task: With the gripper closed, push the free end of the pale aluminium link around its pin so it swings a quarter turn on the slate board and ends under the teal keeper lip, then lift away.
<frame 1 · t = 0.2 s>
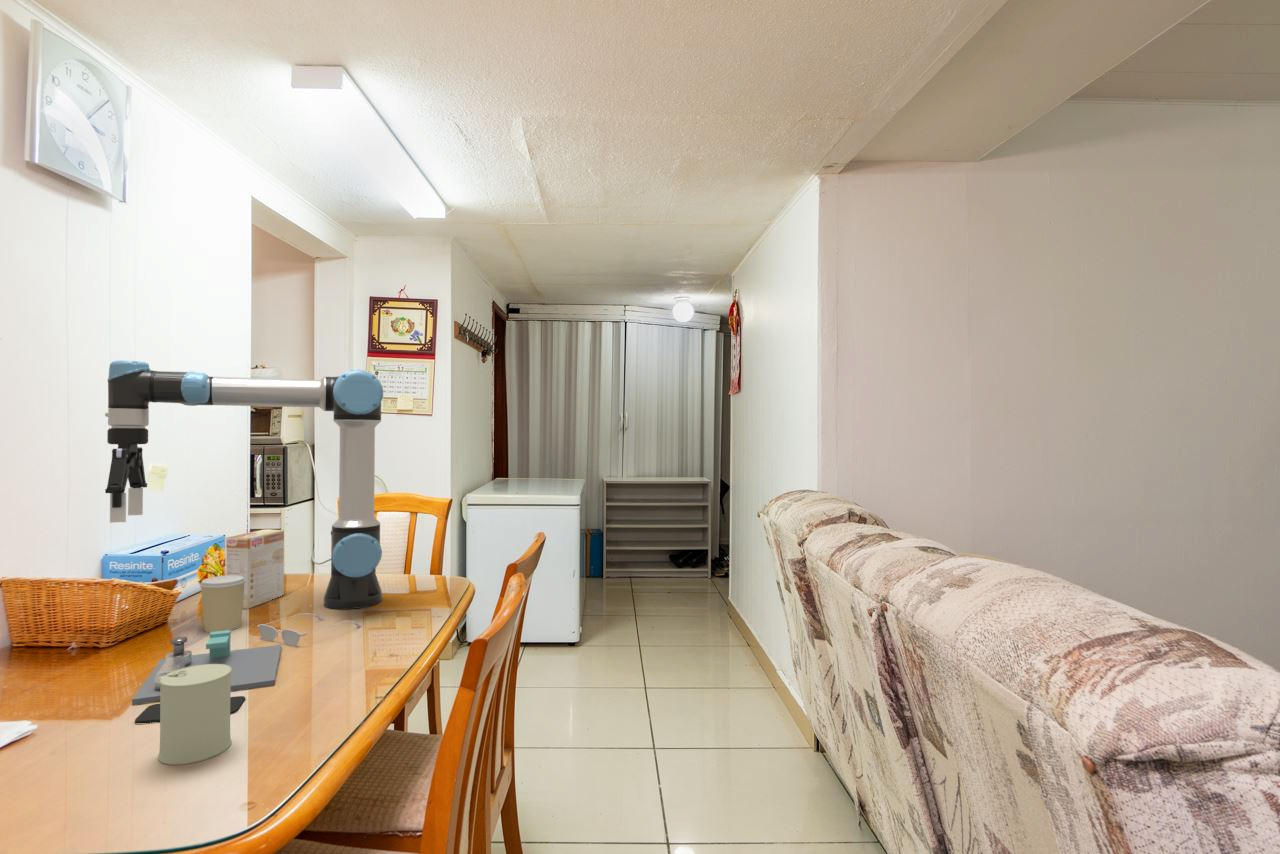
hand: (126, 518, 154), 28 cm above the table, tool pointing down, fingers open, 13 cm apart
eyeglasses: (312, 635, 159), on the table
link: (172, 660, 128), point 4 cm above the table, hinge at 0.0°
can: (195, 751, 100), on the table
coffeecake box: (255, 602, 187), on the table
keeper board: (215, 673, 131), on the table
coffee cup: (222, 628, 162), on the table
phone: (192, 713, 114), on the table
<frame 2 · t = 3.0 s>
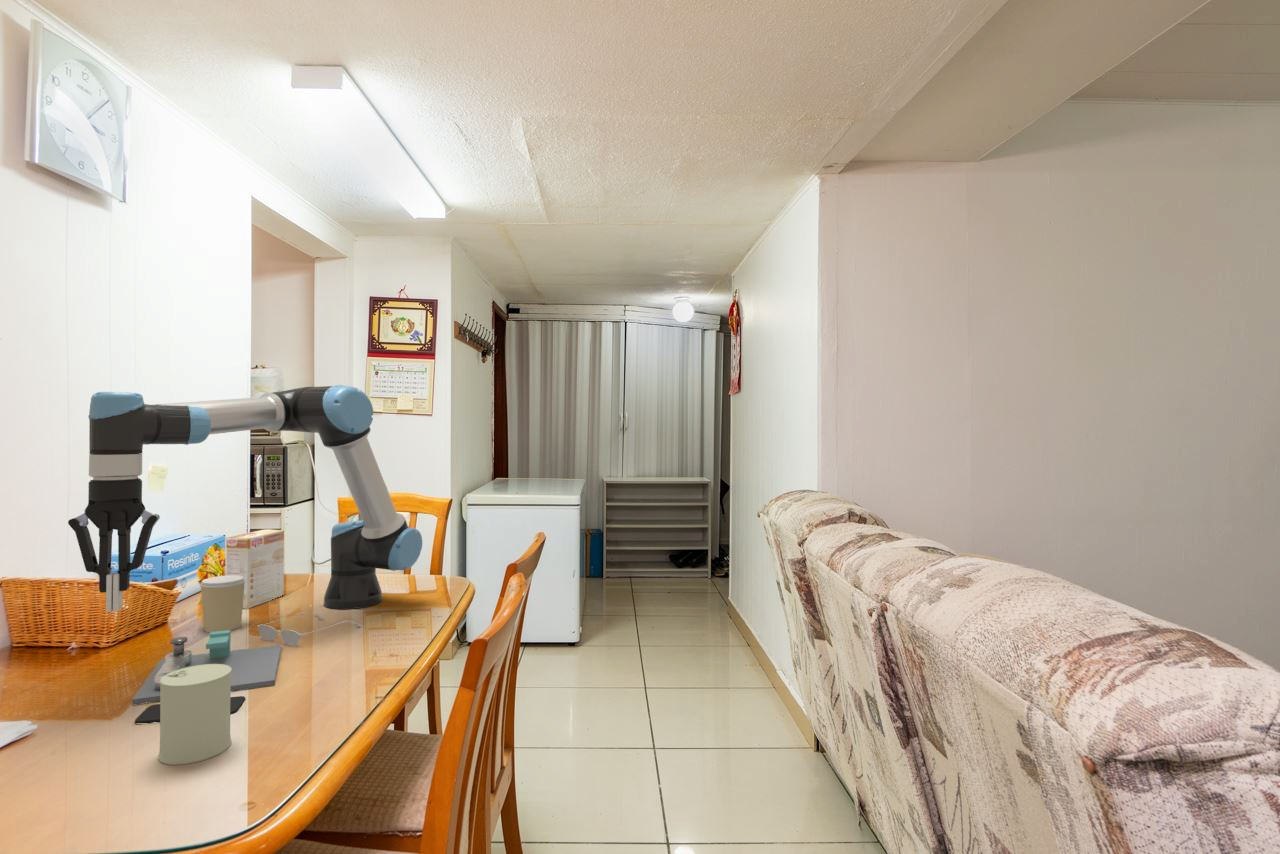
hand: (114, 609, 118), 16 cm above the table, tool pointing down, fingers closed
nothing on the table moved.
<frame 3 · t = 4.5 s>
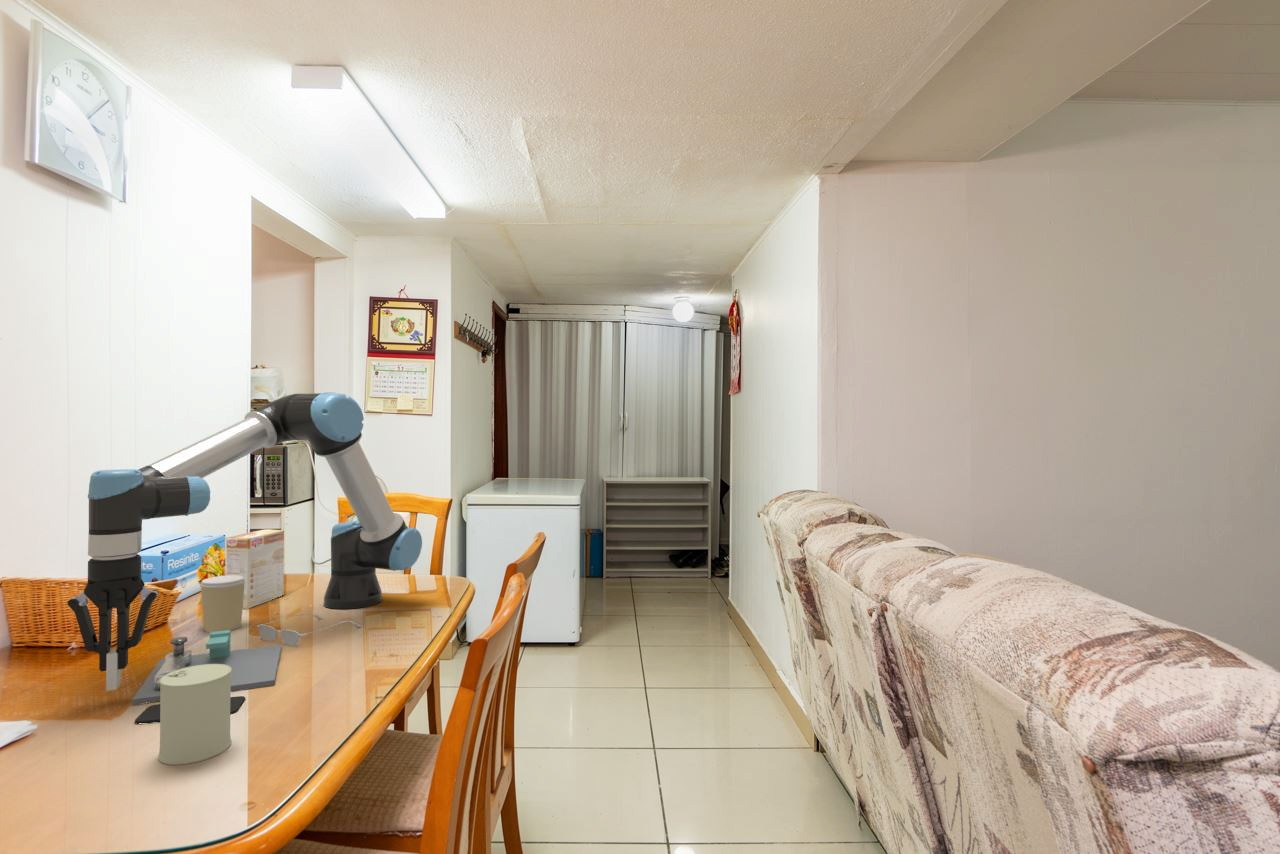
hand: (113, 687, 118), 2 cm above the table, tool pointing down, fingers closed
nothing on the table moved.
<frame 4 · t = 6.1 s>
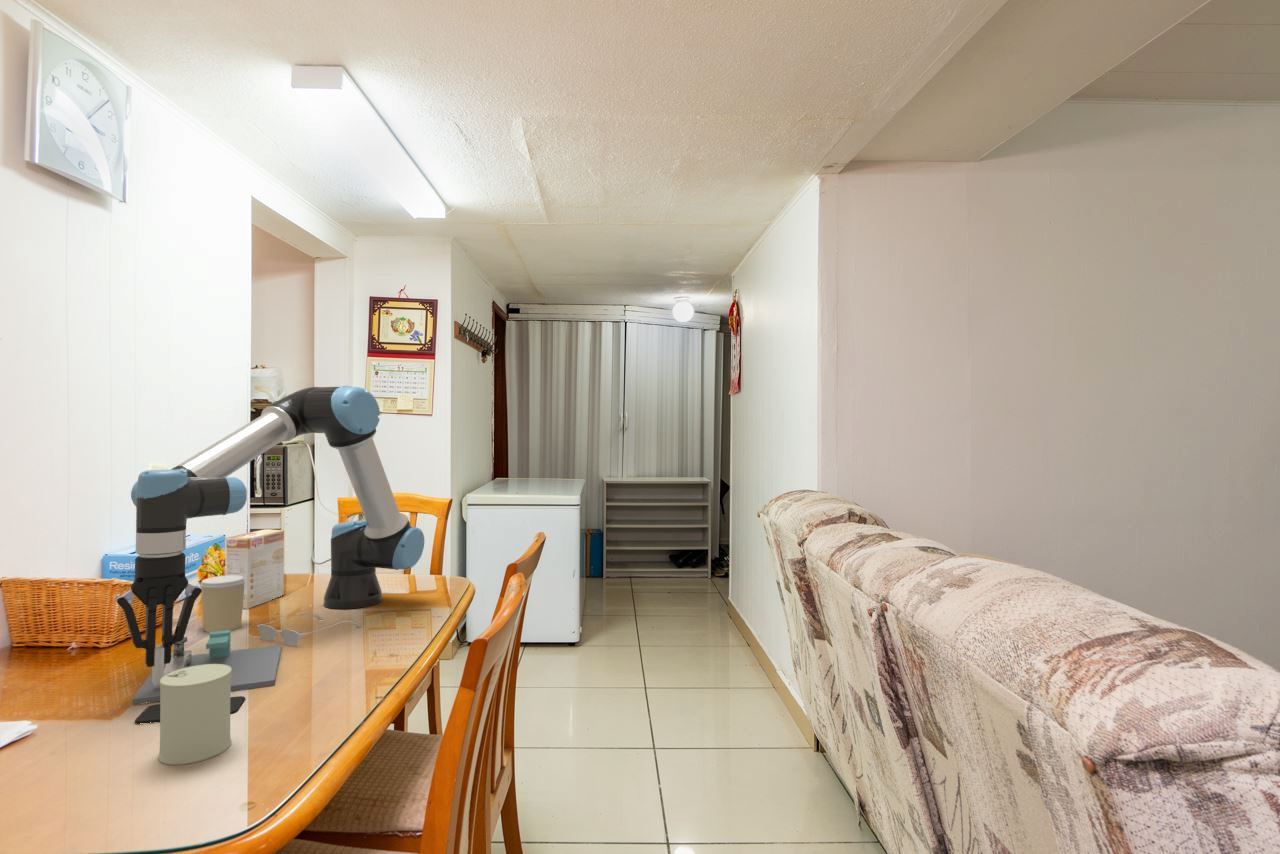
hand: (157, 682, 121), 2 cm above the table, tool pointing down, fingers closed
link: (175, 660, 128), point 4 cm above the table, hinge at 4.9°, touching gripper
everything else where it was.
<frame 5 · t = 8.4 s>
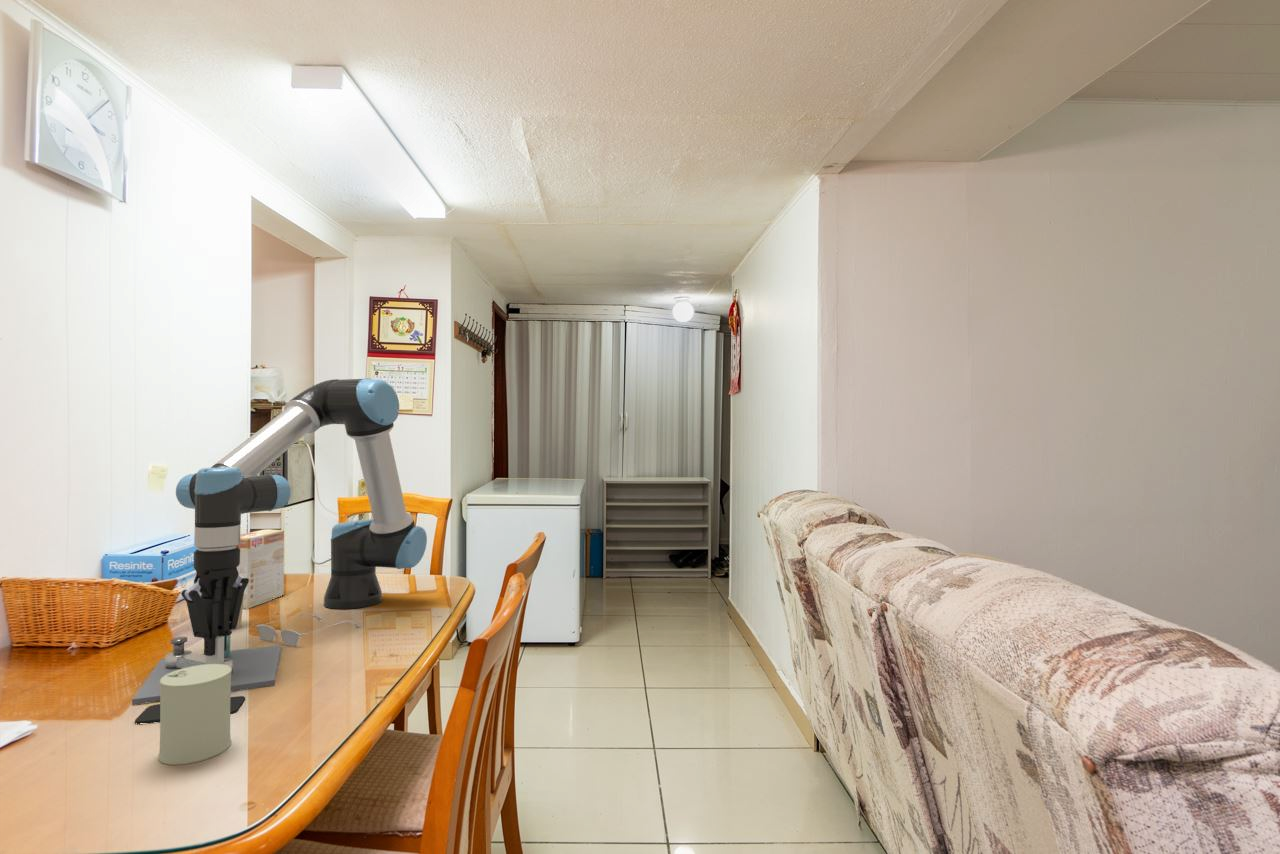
hand: (214, 670, 127), 2 cm above the table, tool pointing down, fingers closed
link: (199, 655, 131), point 4 cm above the table, hinge at 43.5°, touching gripper
everything else where it was.
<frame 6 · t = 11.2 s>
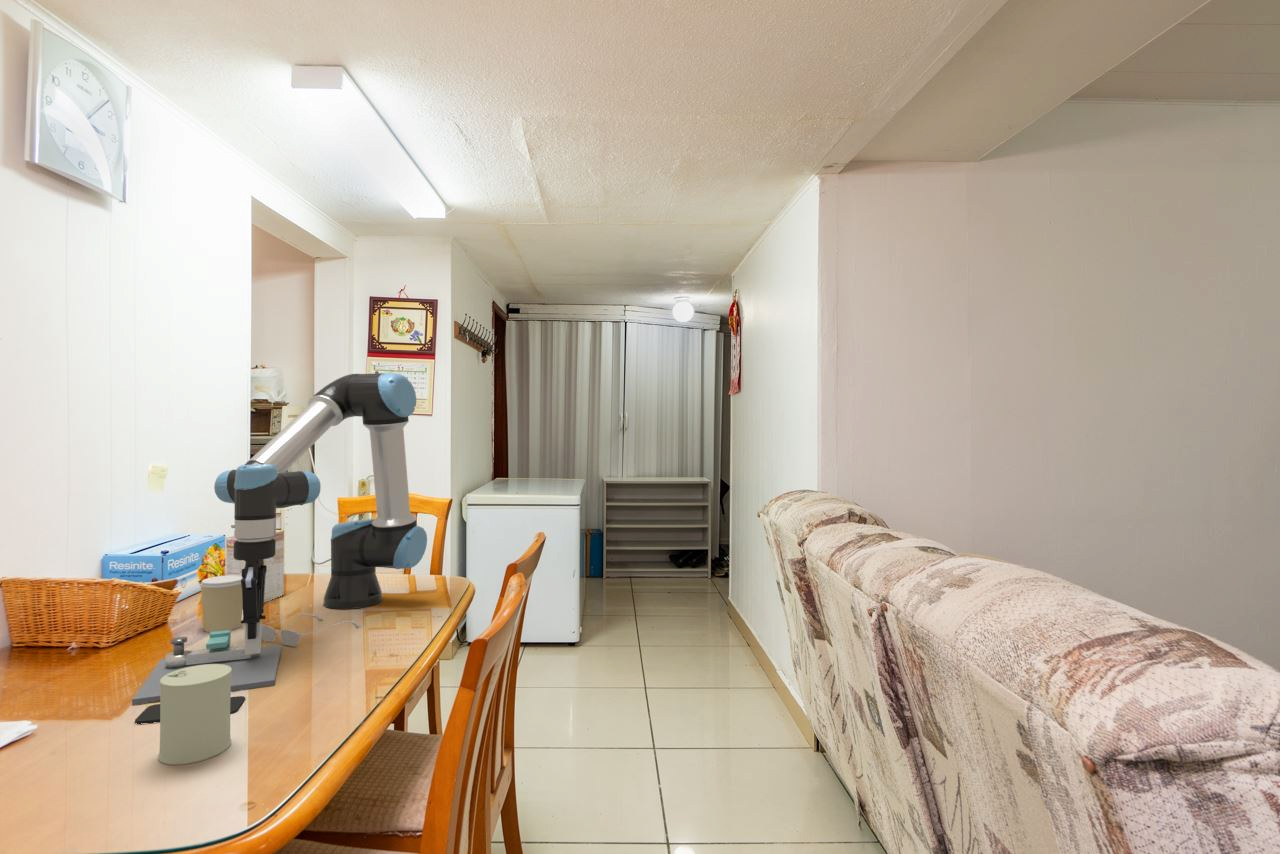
hand: (252, 653, 136), 3 cm above the table, tool pointing down, fingers closed
link: (214, 647, 136), point 4 cm above the table, hinge at 86.6°, touching gripper
everything else where it was.
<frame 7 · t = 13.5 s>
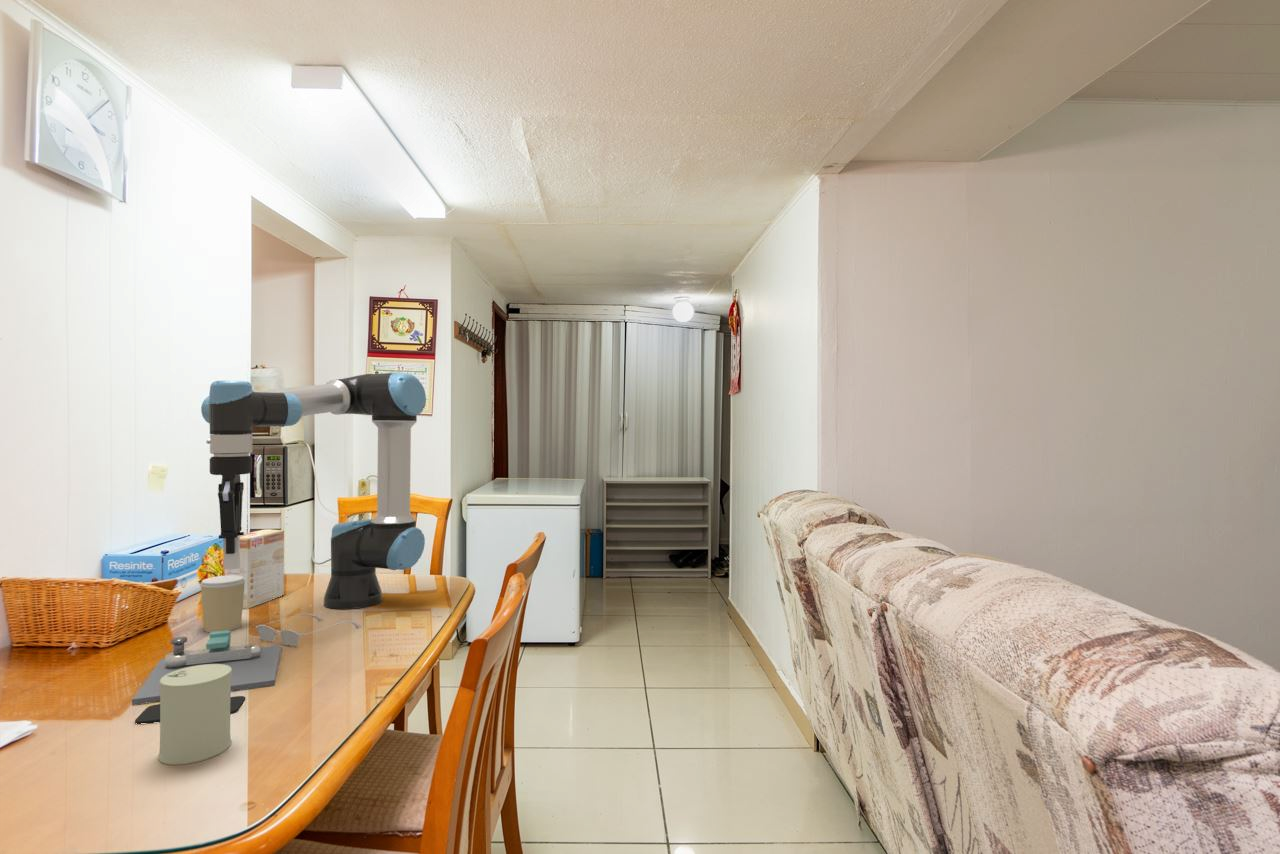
hand: (231, 568, 137), 20 cm above the table, tool pointing down, fingers closed
link: (214, 647, 136), point 4 cm above the table, hinge at 86.6°
everything else where it was.
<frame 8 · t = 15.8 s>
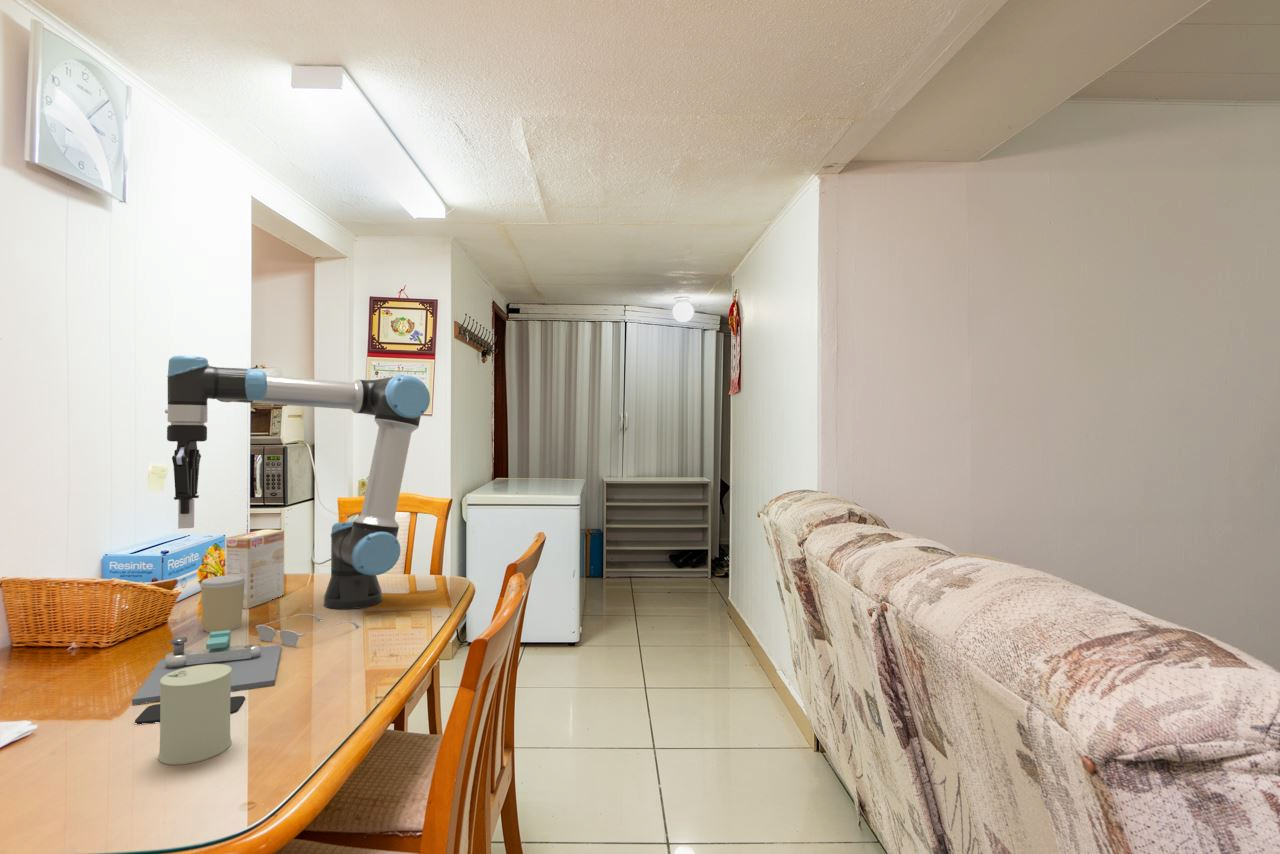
hand: (186, 527, 150), 26 cm above the table, tool pointing down, fingers closed
nothing on the table moved.
at the end: link at +87° (first picture: +0°) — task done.
